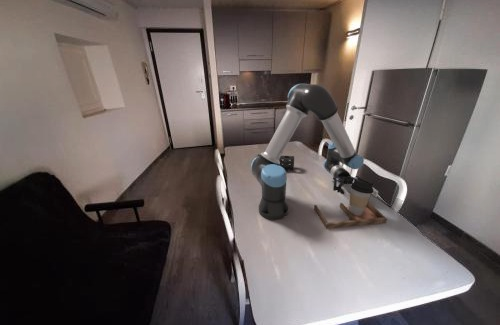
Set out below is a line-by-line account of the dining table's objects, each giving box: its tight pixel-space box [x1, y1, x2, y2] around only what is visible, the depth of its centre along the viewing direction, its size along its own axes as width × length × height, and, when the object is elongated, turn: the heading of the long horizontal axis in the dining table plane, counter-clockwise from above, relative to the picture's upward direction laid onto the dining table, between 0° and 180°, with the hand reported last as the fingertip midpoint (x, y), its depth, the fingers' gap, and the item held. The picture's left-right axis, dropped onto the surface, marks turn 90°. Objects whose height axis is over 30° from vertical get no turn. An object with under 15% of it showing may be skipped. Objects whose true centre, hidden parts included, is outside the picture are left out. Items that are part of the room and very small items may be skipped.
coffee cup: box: [348, 181, 374, 216], centre depth 93 cm, size 9×9×15 cm
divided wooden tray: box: [313, 201, 388, 230], centre depth 95 cm, size 28×14×2 cm, turn 95°
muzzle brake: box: [254, 153, 295, 170], centre depth 143 cm, size 10×28×10 cm, turn 79°
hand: (362, 195), depth 91 cm, fingers open, 13 cm apart
